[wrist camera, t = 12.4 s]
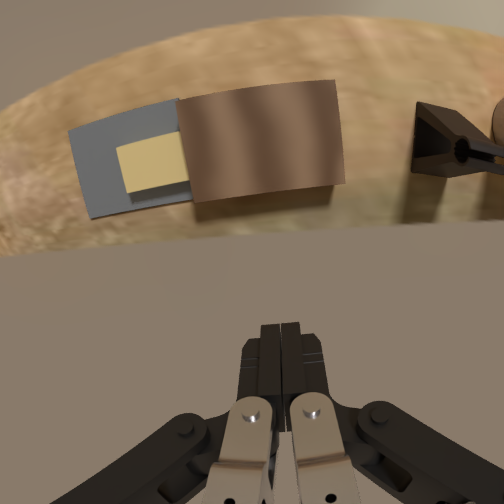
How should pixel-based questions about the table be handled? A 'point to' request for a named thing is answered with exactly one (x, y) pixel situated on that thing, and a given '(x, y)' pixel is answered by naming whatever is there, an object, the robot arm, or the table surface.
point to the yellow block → (153, 162)
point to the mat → (107, 163)
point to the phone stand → (451, 144)
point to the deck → (262, 139)
